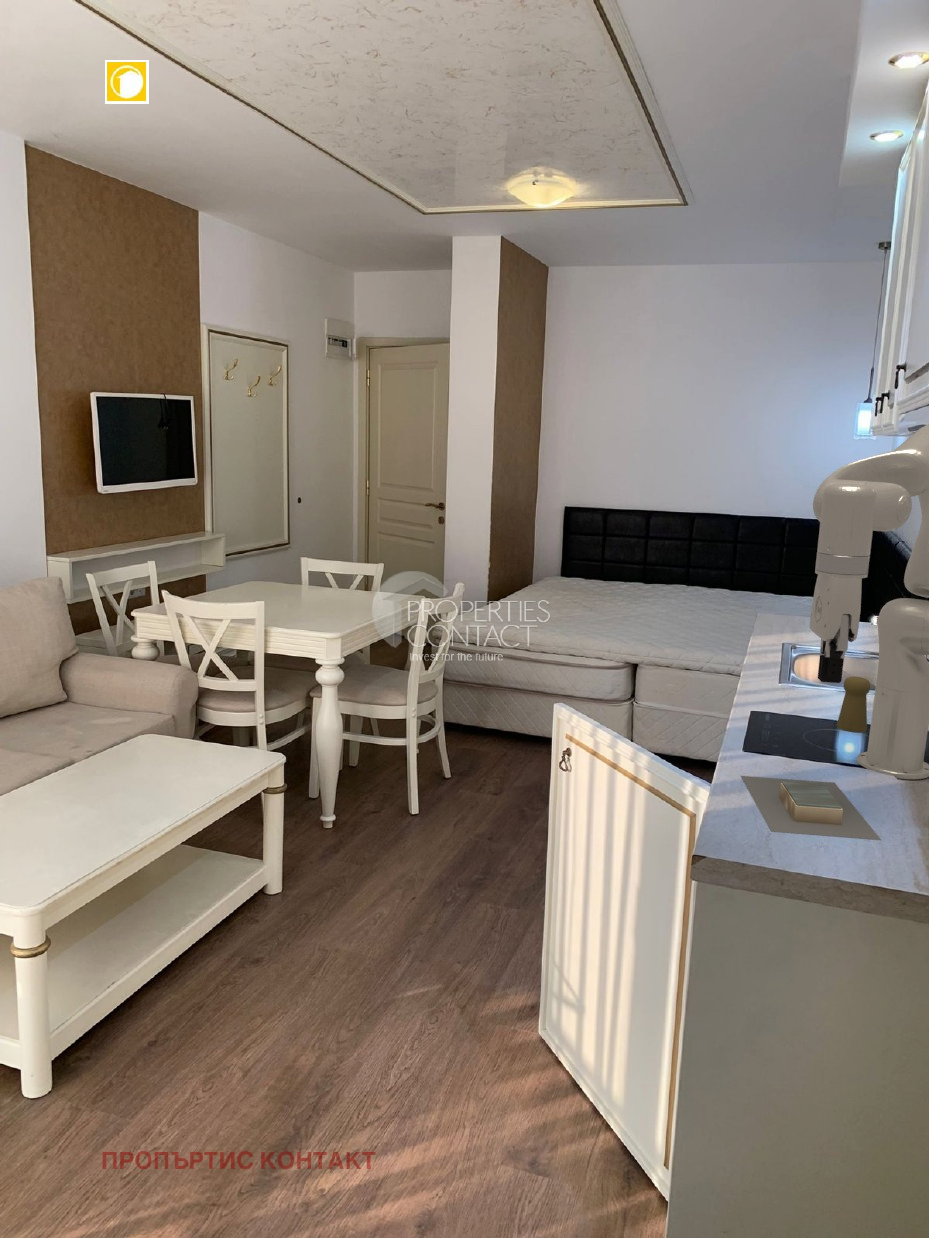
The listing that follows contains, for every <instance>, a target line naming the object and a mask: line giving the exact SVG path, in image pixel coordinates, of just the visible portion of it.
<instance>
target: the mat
mask: <svg viewBox="0 0 929 1238" xmlns="http://www.w3.org/2000/svg"><path fill="white" fill-rule="evenodd" d="M740 778H741V780H742V782H743V784H744V786H745V787H746V789H747V791H748V793H749V794H750V796H751V798H752V799H753V802H754V803H755V806H756V807H757V808H758V810H759V812H760V814H761V816H762V817H763V820H764V821H765V823H766V825H767V827H768V828H769V830H770V832H771V833H783V834H794V835H795V834H796V835H799V834H800V835H807V836H808V835H809V836H819V837H820V836H821V837H822V836H823V837H836V838H846V839H847V838H849V839H858V840H859V839H860V840H861V839H862V840H873V841H882V839H881V837H880V836H879V834H877V832H876V831H875V830H874V829H873V827H871V825H870V824H869V823H868V821H866V819H865V818H864V816H863V815H862V814H861V813H860V812H859V810H857V808H856V807H855V805H854V804H853V803H852V802H851V800H850V799H848V797H847V796H846V795H845V794H844V793H843V791H842V790H841V788H840V787H839V786H838V784H836V783H835V782H831V781H820V780H819V781H816V780H804V779H803V780H802V779H792V778H791V779H789V778H777V777H764V776H763V777H761V776H752V775H751V776H749V775H748V776H747V775H740ZM782 782H791V783H805V784H818V785H824V786H825V787H826V788H827V789H828V791H829V792H830V793H831V795H832V796H833V797H834V798H835V800H836V801H837V802H838V803H839V805H840V806H841V808H842V809H843V814H842V821H841V825H833V824H820V823H807V822H794V820H793V819H792V817H791V815H790V814H789V812H788V811H787V809H786V807H785V806H784V804H783V803H782V801H781V800H780V798H779V795H780V786H781V783H782Z"/></svg>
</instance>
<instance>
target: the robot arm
mask: <svg viewBox="0 0 929 1238" xmlns="http://www.w3.org/2000/svg"><path fill="white" fill-rule="evenodd" d="M916 496H917V497H918V502H919V506H920V512H921V524H920V527H919V530H918V533H917V535H916V536H917V537H916V539H915V541H914V544H913V547H912V550H911V553H910V556H909V558H908V561H907V564H906V567H905V572H904V576H903V577H904V578H903V583H904V587H905V588H906V589H907V591H908V592H910V593H911V594H914V595H915V596H920V597H923V598H927V599H928V598H929V424H926V425H925V426H922V427H920V428H919V429H918V430H916V431H915V432H914V433H913V434H912V435H910V436H909V437H908V438H907V439H905V441H903V442H902V443H901V444H899V445H898V446H896V448H895V449H894V450H891V451H887V452H884V453H883V452H882V453H878V454H875V455H873V456H871V457H867V458H862V459H859V460H856V461H853V462H850V463H847V464H845V465H843V466H841V467H839V468H837V469H836V470H835V471H834V472H832V473H830V475H827V477H826V478H825V479H824V480H823V481H822V482H821V484H820V485H819V486H818V487H817V489H816V491H815V494H814V496H813V500H812V501H813V503H812V510H813V514H814V516H815V519H816V520H818V522H819V532H818V533H819V534H818V540H817V549H816V550H817V552H816V560H815V569H814V570H815V571H814V573H815V574H816V575H817V578H816V582H815V586H814V590H813V591H814V592H813V597H812V605H811V612H810V616H809V617H810V618H809V629H810V630H811V631H812V632H813V634H815V636H817V637H818V638H819V639H820V648H819V649H820V651H819V652H820V654H819V660H818V669H817V670H818V671H817V679H818V680H819V681H820V682H821V683H828V684H829V683H833V684H840V683H841V682H842V679H843V677H842V676H843V671H844V670H843V669H844V662H845V661H844V660H845V655H846V652H848V650H849V647H848V646H849V643H852V642H855V641H856V640H857V638H858V634H859V627H860V619H861V616H860V615H861V607H862V605H861V604H862V593H863V592H862V591H863V590H862V584H863V583H862V581H863V579H866V578H868V577H869V576H868V575H869V567H870V564H869V563H870V559H871V549H872V540H873V532H874V531H875V532H893V531H895V530H898V529H900V528H901V527H903V526H904V525H905V523H907V521H908V520H909V518H910V515H911V512H912V509H913V502H912V501H913V500H912V497H916ZM877 619H878V620H877V631H878V632H877V634H878V636H877V637H878V662H877V673H876V680H875V689H874V697H873V706H872V710H871V711H872V712H871V721H870V728H869V735H868V745H867V751H865V752H864V751H863V752H861V753H859V754H858V755H857V757H856V763H857V764H859V765H860V766H862V767H863V768H865V769H868V770H870V771H872V772H876V773H879V774H883V775H887V776H892V777H894V778H895V779H900V780H922V779H926V778H929V763H928V762H925V760H924V759H925V754H926V753H925V752H926V744H927V739H928V733H929V732H928V731H929V661H928V659H927V658H926V656H929V600H926V599H919V598H917V599H916V598H912V597H911V598H908V597H906V598H905V597H903V598H902V597H900V598H895V599H893V600H890V601H888V602H886V603H885V605H883V607H882V608H881V609H880V612H879V614H878V618H877Z"/></svg>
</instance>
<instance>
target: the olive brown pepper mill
mask: <svg viewBox="0 0 929 1238" xmlns="http://www.w3.org/2000/svg"><path fill="white" fill-rule="evenodd" d="M843 689H844V691H845V693H844V697H843V701H842V705H841V707H840V711H839V715H838V719H837V723H836V728H837V729H839V730H841V731H844V732H848V733H849V732H850V733H858V734H861V733H862V734H863V733H866V732H867V731H868V719H867V718H868V716H867V715H868V713H867V712H868V709H867V708H868V706H867V702H868V701H867V700H868V699H867V695H868V694H869V693H870V690H871V682H870V680H869V679H867V678H865V677H861V676H848V677H846V678H845V680H844V682H843Z"/></svg>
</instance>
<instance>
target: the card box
mask: <svg viewBox="0 0 929 1238" xmlns="http://www.w3.org/2000/svg"><path fill="white" fill-rule="evenodd" d="M779 798H780V800H781V801H782V803H783V804H784V806H785V807H786V809H787V811H788V812H789V814H790V815H791V817H792V819H793V820H794V822H807V823H820V824H833V825H841V821H842V814H843V809H842V808H841V806H840V805H839V803H838V802H837V801H836V800H835V798H834V797H833V796H832V795H831V793H830V792H829V791H828V789H827V788H826V787H825V786H824V785H818V784H805V783H791V782H782V783H781V786H780V795H779Z"/></svg>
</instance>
